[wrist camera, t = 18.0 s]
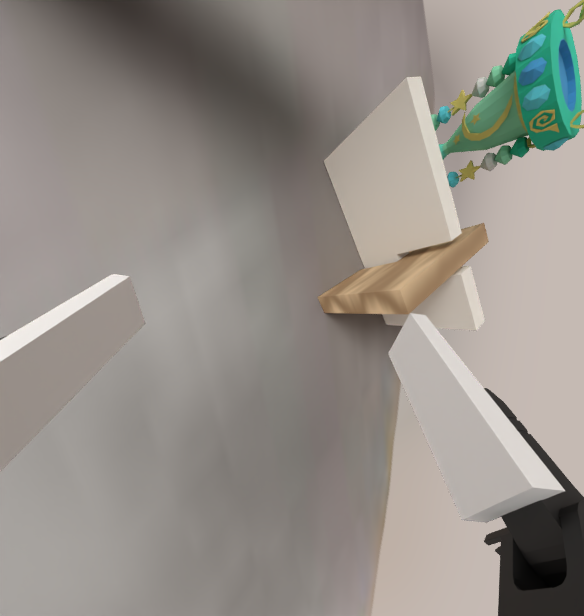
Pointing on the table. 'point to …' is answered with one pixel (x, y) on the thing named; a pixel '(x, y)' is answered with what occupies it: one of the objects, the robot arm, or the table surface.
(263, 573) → the table surface
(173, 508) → the table surface
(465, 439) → the robot arm
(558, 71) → the hanging basket ornament
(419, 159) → the cream slotted board
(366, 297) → the tan faceted tapered block
